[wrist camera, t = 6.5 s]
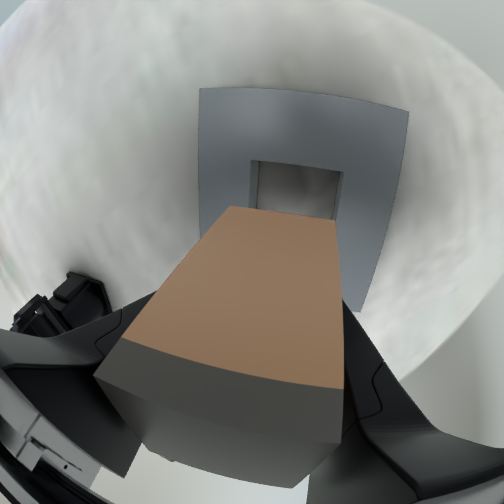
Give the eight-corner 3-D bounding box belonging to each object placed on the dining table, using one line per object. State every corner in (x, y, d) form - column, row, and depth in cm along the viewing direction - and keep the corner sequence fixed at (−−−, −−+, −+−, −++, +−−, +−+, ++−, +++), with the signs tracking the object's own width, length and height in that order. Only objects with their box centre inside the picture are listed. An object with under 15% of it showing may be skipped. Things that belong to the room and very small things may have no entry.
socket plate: (357, 292, 21) (360, 312, 19) (213, 268, 23) (202, 285, 21) (397, 111, 14) (408, 111, 12) (214, 90, 16) (199, 88, 14)
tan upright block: (316, 304, 12) (292, 488, 5) (228, 289, 12) (149, 450, 6) (334, 220, 10) (340, 443, 3) (229, 205, 10) (92, 374, 4)
